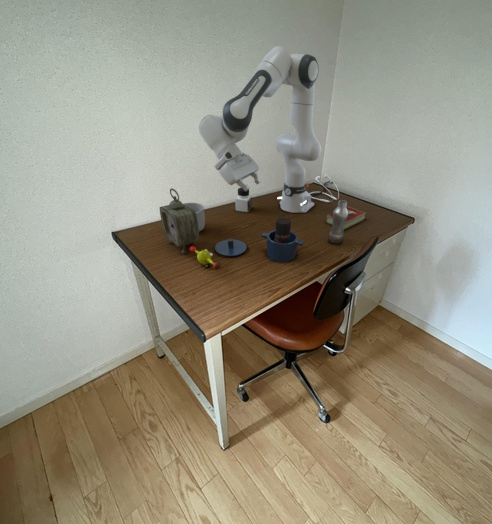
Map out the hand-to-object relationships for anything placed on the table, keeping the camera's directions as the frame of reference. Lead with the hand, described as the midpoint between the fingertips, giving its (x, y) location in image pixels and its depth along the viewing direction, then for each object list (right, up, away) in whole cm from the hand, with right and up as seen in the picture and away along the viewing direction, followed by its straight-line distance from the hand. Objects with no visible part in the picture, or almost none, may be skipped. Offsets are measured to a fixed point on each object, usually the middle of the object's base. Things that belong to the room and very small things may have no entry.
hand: (253, 186), depth 107 cm
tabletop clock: (-31, -24, +7) cm, 39 cm away
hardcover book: (+46, -8, +40) cm, 61 cm away
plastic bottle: (+36, -21, +20) cm, 46 cm away
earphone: (+37, +11, +67) cm, 78 cm away
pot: (+11, -27, +8) cm, 30 cm away
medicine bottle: (-11, -1, +43) cm, 45 cm away
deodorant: (+11, -26, +8) cm, 30 cm away
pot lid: (-11, -24, +8) cm, 28 cm away
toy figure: (-18, -32, -3) cm, 37 cm away
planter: (-31, -15, +20) cm, 40 cm away
